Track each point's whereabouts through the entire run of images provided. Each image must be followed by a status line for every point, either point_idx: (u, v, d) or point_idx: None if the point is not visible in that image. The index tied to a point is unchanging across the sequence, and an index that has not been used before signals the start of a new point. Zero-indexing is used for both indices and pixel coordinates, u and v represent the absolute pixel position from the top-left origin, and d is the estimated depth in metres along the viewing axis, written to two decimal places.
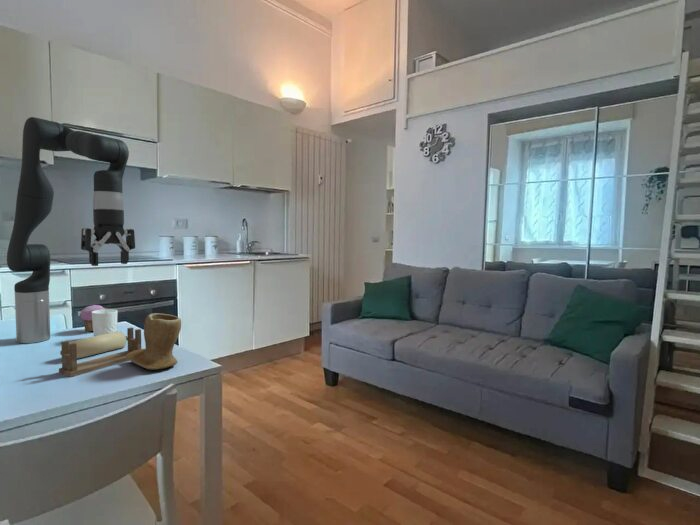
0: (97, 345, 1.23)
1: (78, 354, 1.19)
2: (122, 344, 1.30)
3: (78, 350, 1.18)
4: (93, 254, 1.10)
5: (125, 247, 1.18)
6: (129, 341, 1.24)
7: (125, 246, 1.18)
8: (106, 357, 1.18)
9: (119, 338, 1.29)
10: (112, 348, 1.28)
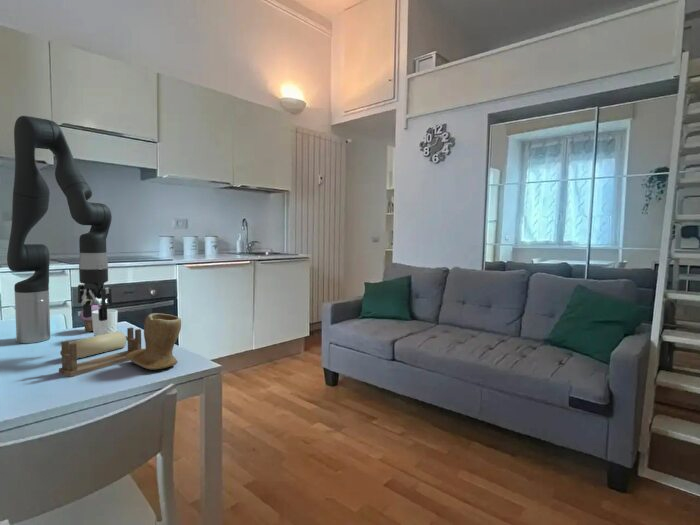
0: (97, 345, 1.23)
1: (78, 354, 1.18)
2: (122, 344, 1.30)
3: (78, 350, 1.18)
4: None
5: None
6: (129, 341, 1.24)
7: None
8: (106, 357, 1.18)
9: (119, 338, 1.29)
10: (112, 348, 1.28)
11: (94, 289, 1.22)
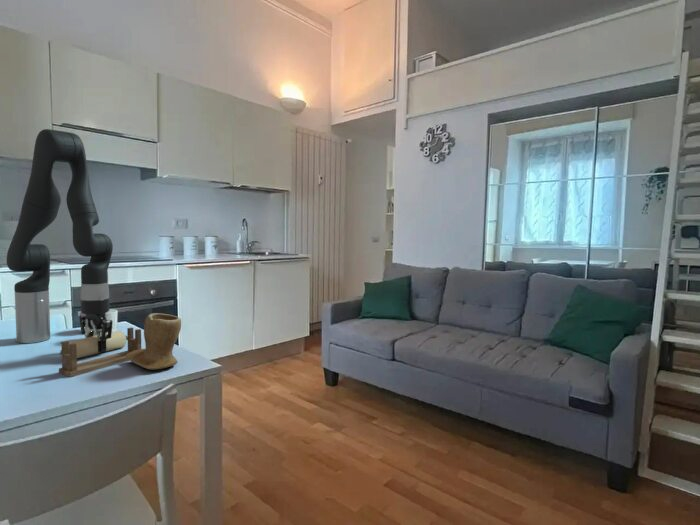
0: (97, 345, 1.23)
1: (78, 354, 1.18)
2: (122, 344, 1.30)
3: (78, 350, 1.18)
4: None
5: None
6: (129, 341, 1.24)
7: None
8: (106, 357, 1.18)
9: (119, 338, 1.29)
10: (112, 348, 1.28)
11: (96, 320, 1.23)
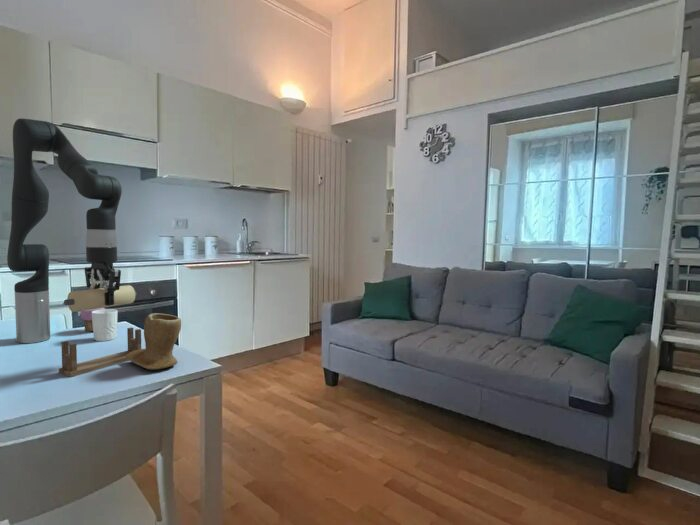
0: (104, 297, 1.12)
1: (83, 305, 1.08)
2: (131, 299, 1.20)
3: (83, 300, 1.07)
4: None
5: None
6: (129, 341, 1.24)
7: None
8: (106, 357, 1.18)
9: (128, 292, 1.19)
10: (120, 302, 1.17)
11: (103, 270, 1.12)
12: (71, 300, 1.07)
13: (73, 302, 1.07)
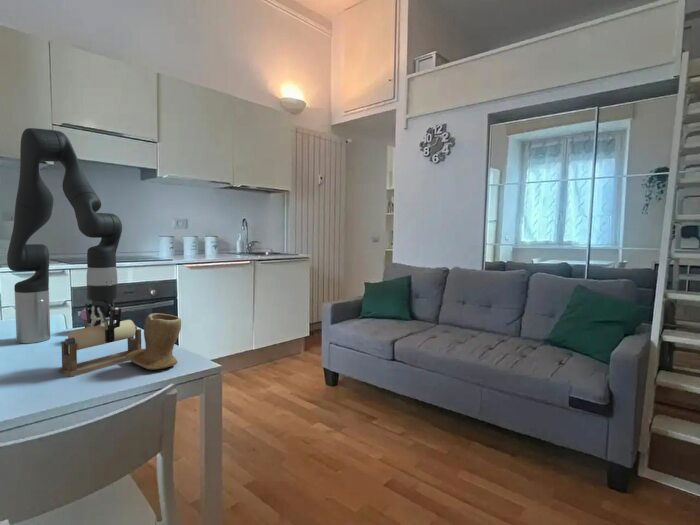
0: (104, 334, 1.13)
1: (84, 343, 1.08)
2: (131, 334, 1.20)
3: (84, 339, 1.08)
4: None
5: None
6: (129, 341, 1.24)
7: None
8: (106, 357, 1.18)
9: (128, 328, 1.19)
10: (120, 338, 1.18)
11: (103, 307, 1.13)
12: (72, 339, 1.07)
13: (74, 341, 1.08)
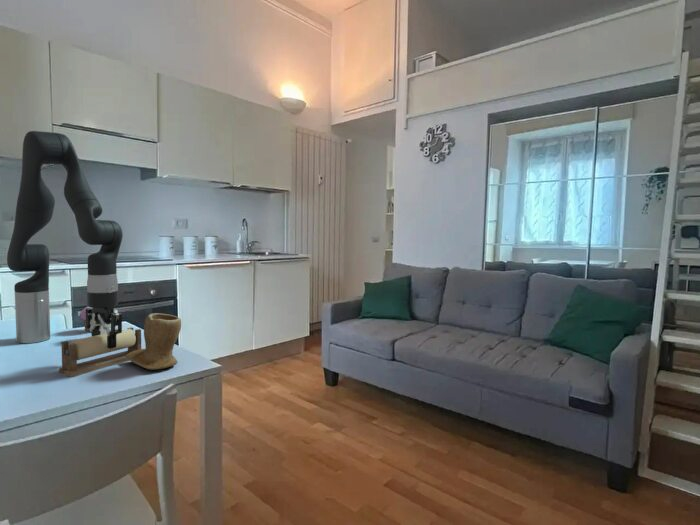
0: (105, 344, 1.13)
1: (84, 354, 1.09)
2: (131, 343, 1.21)
3: (84, 349, 1.09)
4: None
5: None
6: None
7: None
8: (106, 357, 1.18)
9: (128, 337, 1.20)
10: (121, 347, 1.18)
11: (103, 314, 1.13)
12: None
13: None
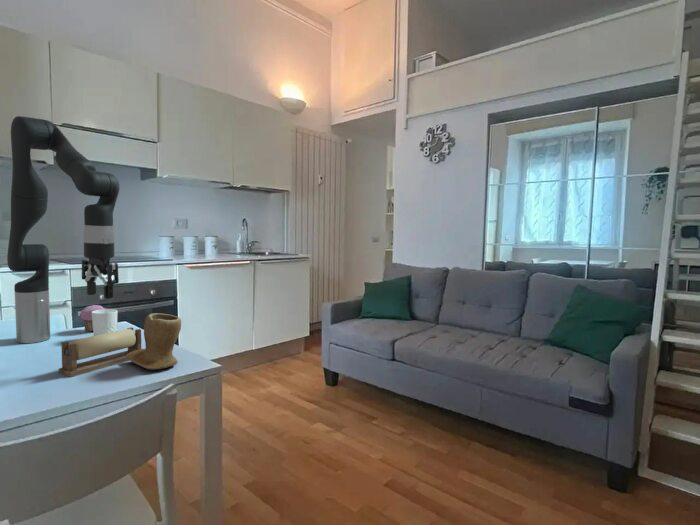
0: (105, 344, 1.13)
1: (84, 354, 1.09)
2: (131, 343, 1.21)
3: (84, 349, 1.09)
4: None
5: None
6: None
7: None
8: (106, 357, 1.18)
9: (128, 337, 1.20)
10: (121, 347, 1.18)
11: (99, 265, 1.14)
12: None
13: None
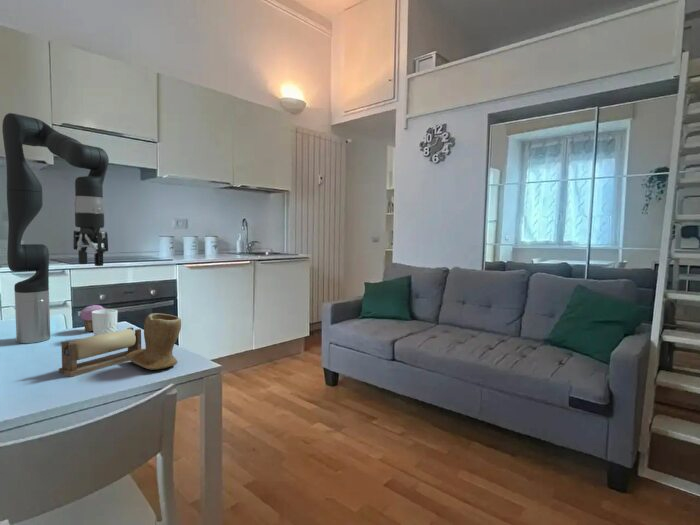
0: (105, 344, 1.13)
1: (84, 354, 1.09)
2: (131, 343, 1.21)
3: (84, 349, 1.09)
4: None
5: None
6: None
7: None
8: (106, 357, 1.18)
9: (128, 337, 1.20)
10: (121, 347, 1.18)
11: (90, 233, 1.20)
12: None
13: None
